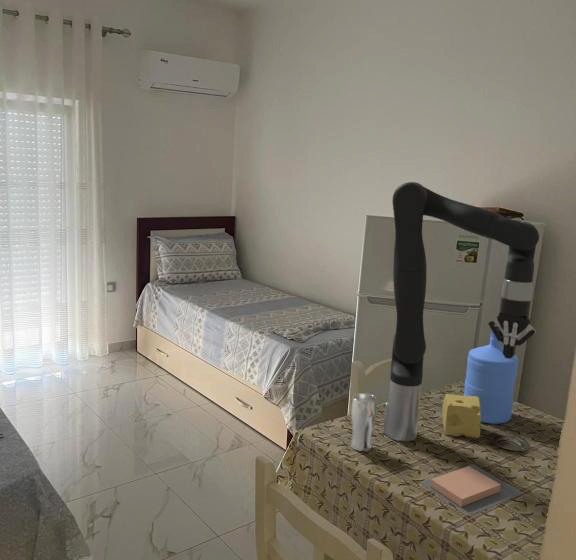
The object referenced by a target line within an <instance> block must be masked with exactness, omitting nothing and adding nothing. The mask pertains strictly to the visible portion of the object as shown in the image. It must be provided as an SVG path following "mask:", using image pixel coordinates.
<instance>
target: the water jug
mask: <svg viewBox="0 0 576 560" xmlns="http://www.w3.org/2000/svg"><path fill="white" fill-rule="evenodd" d="M489 340H490V341H489V344H488V345H487V344H486V345H484V346H478V347H475V348H471V349H470V350H469V351H468V356H467V359H466V361H467V365H466V375H465V380H464V393H463V396H477V397H478V398H479V402H480V415H481V422H480V423H484V424H491V425H496V424H499V425H500V424H504V423H508V422H509V421H510V420H511V419H512V413H513V403H514V398H513V397H514V390H515V383H516V379H517V372H518V368H519V358H518V356H516V354H515V355H514V356H513V357H512V358H511V359H508V358H505V356H504V355H503V348H504V347H501V341H498V340H497V338H496V336H495V335H494V333H493V332H490V337H489Z"/></svg>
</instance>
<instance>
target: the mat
mask: <svg viewBox="0 0 576 560" xmlns="http://www.w3.org/2000/svg"><path fill="white" fill-rule="evenodd" d="M468 466H470V467H471V468H473V469H475V470H477V471H478V472H480V473H482V474H483V475H485V476H487V477H489V478H490V479H492V480H494V481H496V482H497V483H499V484H501V487H500V492H498V493H496V494H493V495H491V496H488V497H486V498H483V499H480V500H478V501H475V502H473V503H470V504H468V505H465V506H462V507H460V506H459V505H457V504H456V503H454V502H453V501H451V500H450V499H448V498H447V497H445V496H444V495H442V494H441V493H439V492H438V491H436V490H435V489H433V488H432V487H430V483H431V479H433V478H436V477H439V476H442V475H445V474H448V473H450V472H453V471H456V470H459V469H462V468H465V467H468ZM419 484H421V485H423V486H424V487H426V488H427V489H428V490H430V491H432V492H433V493H435V494H436V495H438V496H440V497H441V498H442V499H444V500H445V501H447V502H448V503H450V504H452V505H453V506H454V507H456V508H457V509H459V510H460V511H461V512H464V513H465V515H468V516H472V515H474V514H476V513H480V512H481V511H484V510H486V509H489V508H491V507H494V506H496V505H499V504H501V503H504V502H506V501H508V500H510V499H513V498H516V497H519V496H520V495H523V494H524V492H522V491H520V490H519V489H517V488H515V487H513V486H512V485H510V484H508V483H507V482H505V481H503V480H502V479H499V478H498V477H496V476H494V475H493V474H491V473H489V472H487V471H485V470H484V469H483V468H481V467H479V466H477V465H475V464H473V463H471V464H470V465H466V466H463V467H460V468H458V469H454V470H451V471H449V472H446V473H443V474H442V473H441V474H440V475H437V476H436V475H435V476H434V477H431V478H428V479H425V480H422V481H419Z"/></svg>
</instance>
